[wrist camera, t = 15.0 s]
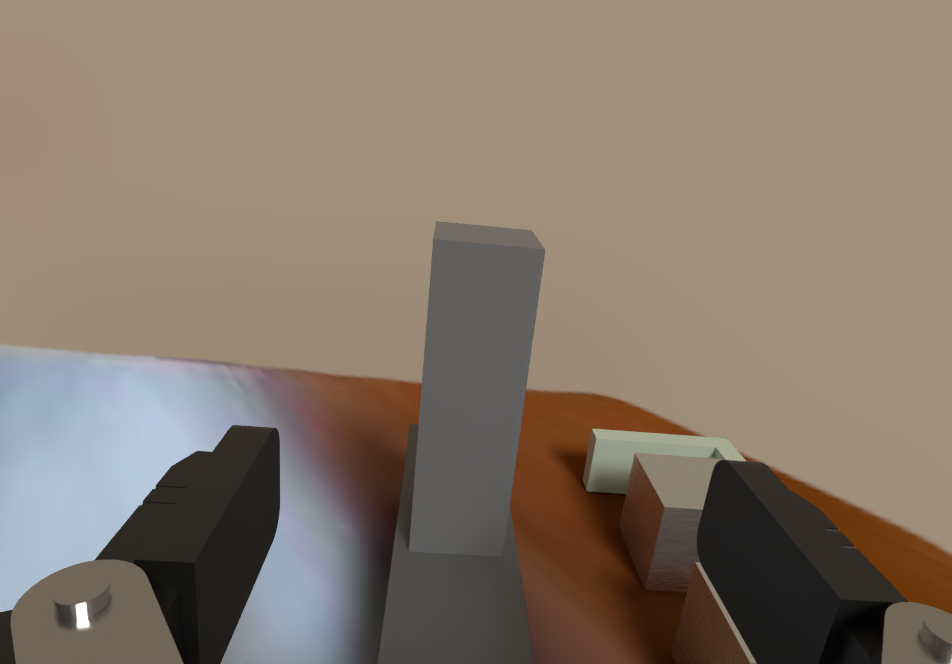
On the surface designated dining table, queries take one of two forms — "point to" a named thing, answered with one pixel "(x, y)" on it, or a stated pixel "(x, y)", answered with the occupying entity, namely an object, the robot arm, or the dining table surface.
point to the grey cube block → (665, 517)
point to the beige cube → (707, 628)
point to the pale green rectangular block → (617, 450)
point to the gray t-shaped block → (466, 458)
